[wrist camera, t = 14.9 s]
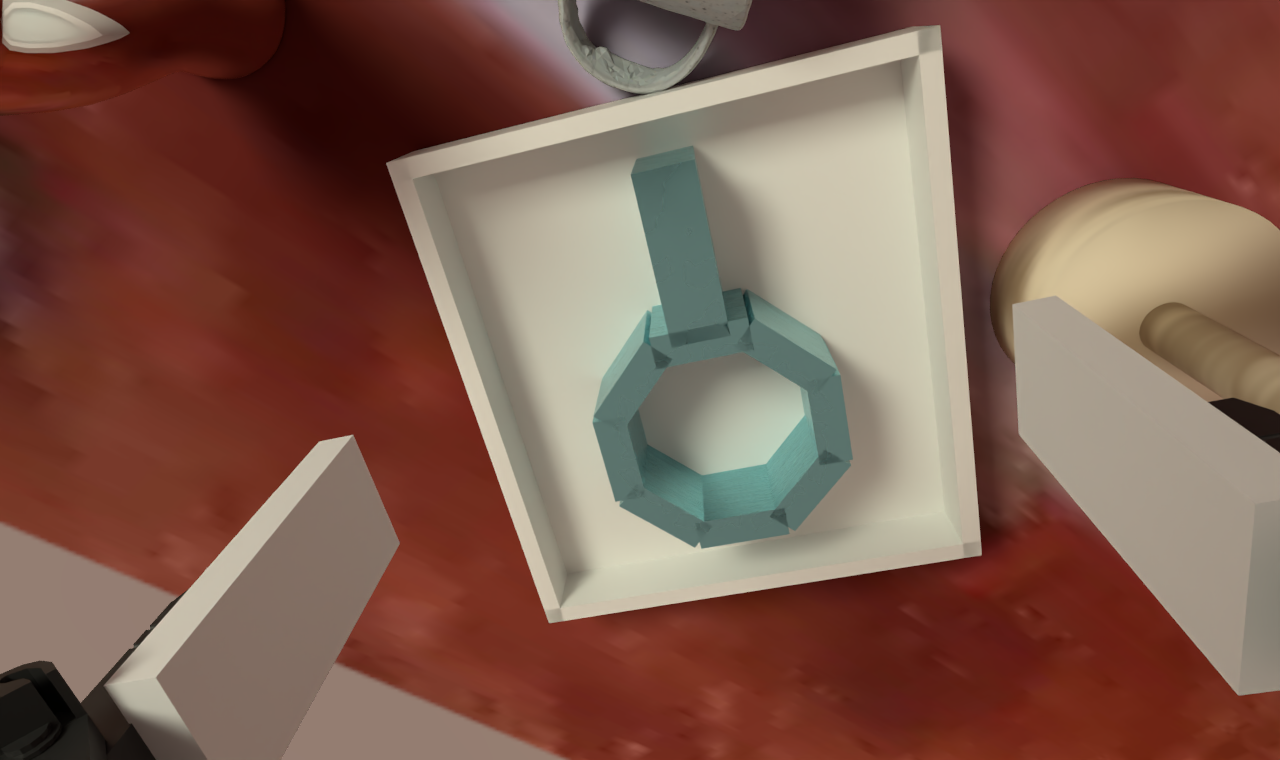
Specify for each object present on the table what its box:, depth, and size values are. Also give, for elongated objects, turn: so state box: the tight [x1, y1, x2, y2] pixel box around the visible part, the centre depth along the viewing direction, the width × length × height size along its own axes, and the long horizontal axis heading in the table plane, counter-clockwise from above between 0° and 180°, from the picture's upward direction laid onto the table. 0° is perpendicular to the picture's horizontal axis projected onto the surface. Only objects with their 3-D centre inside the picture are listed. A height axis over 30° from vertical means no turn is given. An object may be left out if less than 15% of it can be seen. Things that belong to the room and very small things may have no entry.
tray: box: [386, 25, 982, 623], centre depth 35 cm, size 23×21×4 cm
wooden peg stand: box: [990, 178, 1280, 414], centre depth 27 cm, size 10×10×17 cm
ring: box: [592, 146, 853, 549], centre depth 34 cm, size 17×10×4 cm, turn 13°
